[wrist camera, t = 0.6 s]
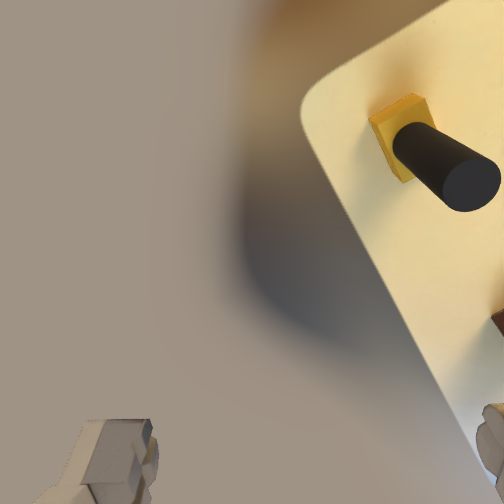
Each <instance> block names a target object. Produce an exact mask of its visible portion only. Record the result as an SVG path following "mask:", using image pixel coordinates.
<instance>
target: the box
mask: <svg viewBox="0 0 504 504" xmlns="http://www.w3.org/2000/svg"><path fill="white" fill-rule="evenodd" d="M491 318H492V320H493V321H494V323H495V324H496V326H497V327H498V329H499V330H500V332H501V333H502V335H503V336H504V310H502V311H500V312H498V313H496V314H495V315H493V316H492V317H491Z"/></svg>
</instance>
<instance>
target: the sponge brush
mask: <svg viewBox="0 0 504 504" xmlns="http://www.w3.org/2000/svg"><path fill="white" fill-rule="evenodd" d="M369 121H370V123H371V125H372V128H373V130H374V132H375V134H376V136H377V139H378V141H379V143H380V145H381V147H382V150H383V152H384V154H385V156H386V158H387V161H388V163H389V165H390V167H391V169H392V172H393V173H394V174H395V176H396V177H397V178H398V179H399V180H400V181H401V182H402V183H405V182H407V181H409V180H411V179H413V178H415V177H417V178H418V179H419V180H420V181H421V182H423V183H424V184H425V185H426V186H427V187H428V188H429V189H430V190H431V191H432V192H433V193H434V194H435V195H436V196H438V197H439V198H440V199H441V200H442V201H443V202H444V203H445V204H446V205H447V206H448V207H450V208H451V209H453V210H455V211H460V212H469V211H474V210H477V209H479V208H481V207H483V206H485V205H486V204H487V203H489V202H490V201H491V200H492V199H493V197H494V196H495V195H496V193H497V192H498V190H499V187H500V184H501V173H500V170H499V168H498V166H497V165H496V164H495V163H494V162H493V161H491V160H490V159H488V158H486V157H484V156H483V155H481V154H479V153H477V152H475V151H474V150H472V149H470V148H468V147H467V146H465V145H463V144H461V143H459V142H458V141H456V140H454V139H452V138H451V137H449V136H447V135H445V134H443V133H442V132H440V131H438V130H437V129H436V127H435V124H434V121H433V119H432V116H431V114H430V111H429V108H428V106H427V103H426V100H425V99H424V98H422V97H420V96H417V95H415V94H411V95H409V96H407V97H405V98H404V99H402V100H400V101H399V102H397V103H395V104H393V105H392V106H390V107H388V108H386V109H385V110H383V111H381V112H379V113H378V114H376V115H374V116H373V117H371V118H369Z"/></svg>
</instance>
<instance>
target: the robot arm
mask: <svg viewBox="0 0 504 504" xmlns="http://www.w3.org/2000/svg"><path fill="white" fill-rule="evenodd" d="M482 415H483V417H484V419H485V422H484V423H482V424H481V425H480V426H479V427H478V429H477V433H476V443H477V449H478V452H479V455H480V458H481V460H482V462H483V464H484V466H485V468H486V469H487V470H489V471H490V472H491V473H492V474H494V475H495V476H496V477H497V481H496V486H495V488H496V489H497V491H498V493H499V495H500V497H501V499H502V501H503V503H504V403H499V404H488V405H487V406H485V407H484V410H483V413H482ZM152 428H153V427H152V424H151V421H150V419H110V420H109V419H108V420H88V421H87V422H86V423H85V425H84V426H83V427H82V430H81V432H80V434H79V437H78V439H77V441H76V444H75V446H74V448H73V450H72V453H71V455H70V457H69V460H68V462H67V465H66V467H65V469H64V471H63V474H62V476H61V478H60V481H59V483H58V485H57V486H51V487H49V489H47V490H46V491H45V492H44V493H43V494H42V495H41V496H40V497H39V498H38V499H37V500H36V501H35V502H33V503H32V504H150V502H151V495H150V492H149V489H148V487H149V486H150V485H151V484H152V483H153V482H154V480H155V479H156V475H157V470H158V460H159V451H158V444H157V440H156V439H155V438H154V437H152V436H151V433H152Z"/></svg>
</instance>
